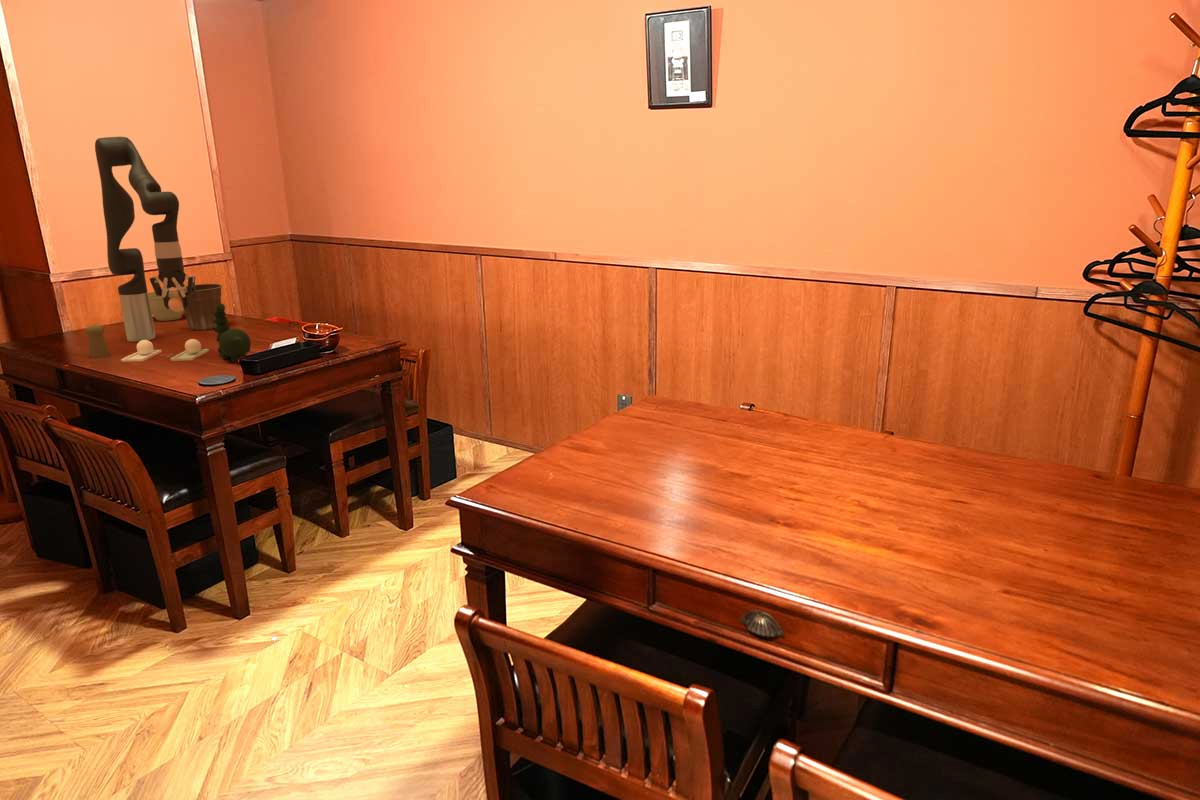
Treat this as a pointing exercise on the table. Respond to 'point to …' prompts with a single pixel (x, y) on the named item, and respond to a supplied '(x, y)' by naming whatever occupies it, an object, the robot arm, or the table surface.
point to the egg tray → (140, 356)
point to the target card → (167, 356)
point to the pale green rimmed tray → (188, 355)
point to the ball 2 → (176, 304)
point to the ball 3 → (192, 346)
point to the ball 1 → (145, 347)
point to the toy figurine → (230, 337)
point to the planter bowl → (163, 307)
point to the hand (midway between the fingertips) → (177, 308)
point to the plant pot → (203, 306)
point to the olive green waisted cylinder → (96, 342)
